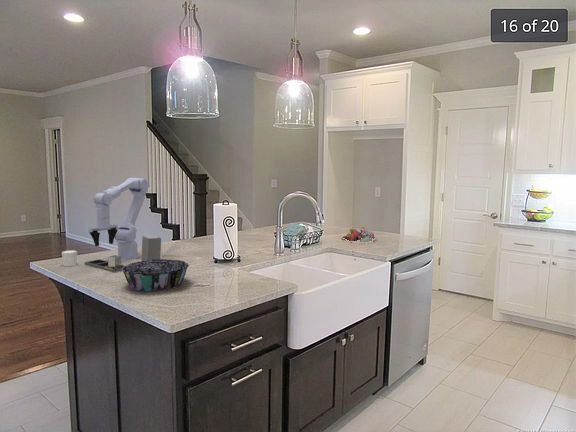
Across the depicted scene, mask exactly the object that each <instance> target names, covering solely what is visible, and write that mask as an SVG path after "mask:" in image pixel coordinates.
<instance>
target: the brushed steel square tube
mask: <svg viewBox="0 0 576 432" xmlns="http://www.w3.org/2000/svg"><path fill="white" fill-rule="evenodd" d="M107 261H108V268H111V269H117V268H121V265H122V260H121V256H118V254H117V255H109V256H108V257H107Z"/></svg>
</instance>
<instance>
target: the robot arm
mask: <svg viewBox="0 0 576 432" xmlns="http://www.w3.org/2000/svg"><path fill="white" fill-rule="evenodd" d="M149 186H150V185H149V183H148V179H147V178H146V177H141V178H140V177H129V178H126V180H125V181H124V182H122V183H121V184H119V185H117V186H114V185H112V186H109V188H108V189H106V190H105V189H104V190H103V192H97V193H96V194H95V195H94V197H93V203H94V204H95V208H96V226H92V227H88V232H89V235H90V236H91V238H92V239H93V243H94V246H95V247H99V246H100V234H101V233H100V231H102V232H103V231H107V235H108V243H109V244H111V245H113V244H114V242H115V241H114V240H116V242H117V256H121V261H129V260H132V259H139V258H140V257H139V253H138V252H139V249H138V247H139V246H138V244H137V242H136V241H135V240H136V236H137V231H138V230H137V228H136V227H135V224H136V223H137V219H138V216H139V214H140V212H141V209H142V206H143V203H144V201H145V199H146V195H147V191H148V189H149ZM127 190H129V191H130V193H131V195H133V198H132V201H131V203H130V206H129V208H128V211H127V214H126V216H125V218H124V221H123V222H122V223H121V224H119V225H118V224H111V219H110V218H111V216H110V214H111V212H110V205H111V204H112V202H113V201H114V200H115V199H117V198H119V197H120V196H121V193H123V192H126V191H127Z"/></svg>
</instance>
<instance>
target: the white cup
mask: <svg viewBox="0 0 576 432" xmlns="http://www.w3.org/2000/svg"><path fill="white" fill-rule="evenodd" d="M61 258H62V265H63V266H62V267H74V266H77V261H78V250H73V249H71V250H64V251H61Z"/></svg>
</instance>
